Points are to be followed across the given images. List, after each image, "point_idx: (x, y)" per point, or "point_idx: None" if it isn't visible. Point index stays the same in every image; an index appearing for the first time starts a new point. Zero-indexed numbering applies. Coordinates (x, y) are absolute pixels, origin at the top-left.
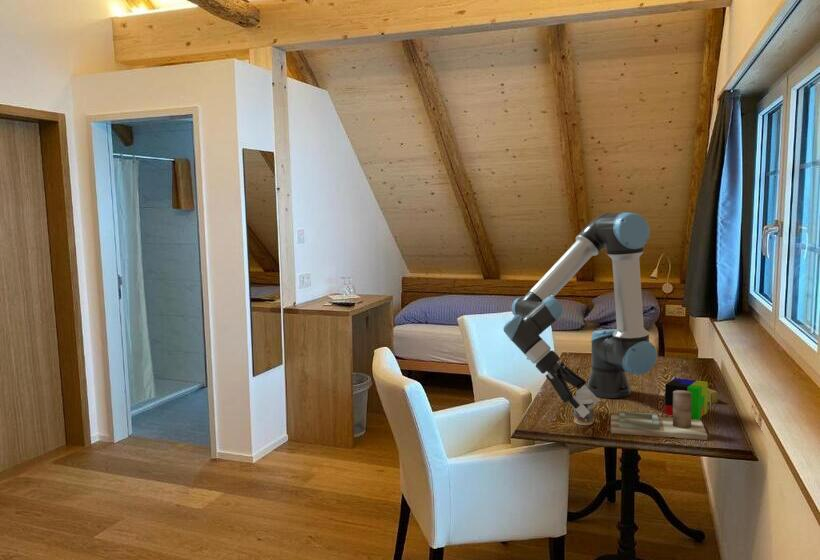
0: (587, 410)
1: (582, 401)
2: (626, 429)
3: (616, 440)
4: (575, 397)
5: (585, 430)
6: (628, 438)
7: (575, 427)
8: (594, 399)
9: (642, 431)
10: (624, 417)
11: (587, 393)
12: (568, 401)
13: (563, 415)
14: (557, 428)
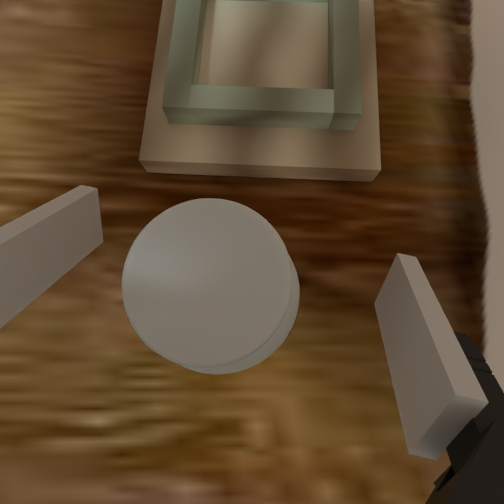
0: (419, 268)
1: (293, 302)
2: (377, 104)
3: (467, 162)
4: (474, 378)
5: (359, 298)
6: (423, 115)
7: (321, 352)
8: (83, 214)
9: (373, 48)
10: (270, 88)
11: (274, 240)
12: (439, 449)
13: (104, 427)
14: (363, 461)
